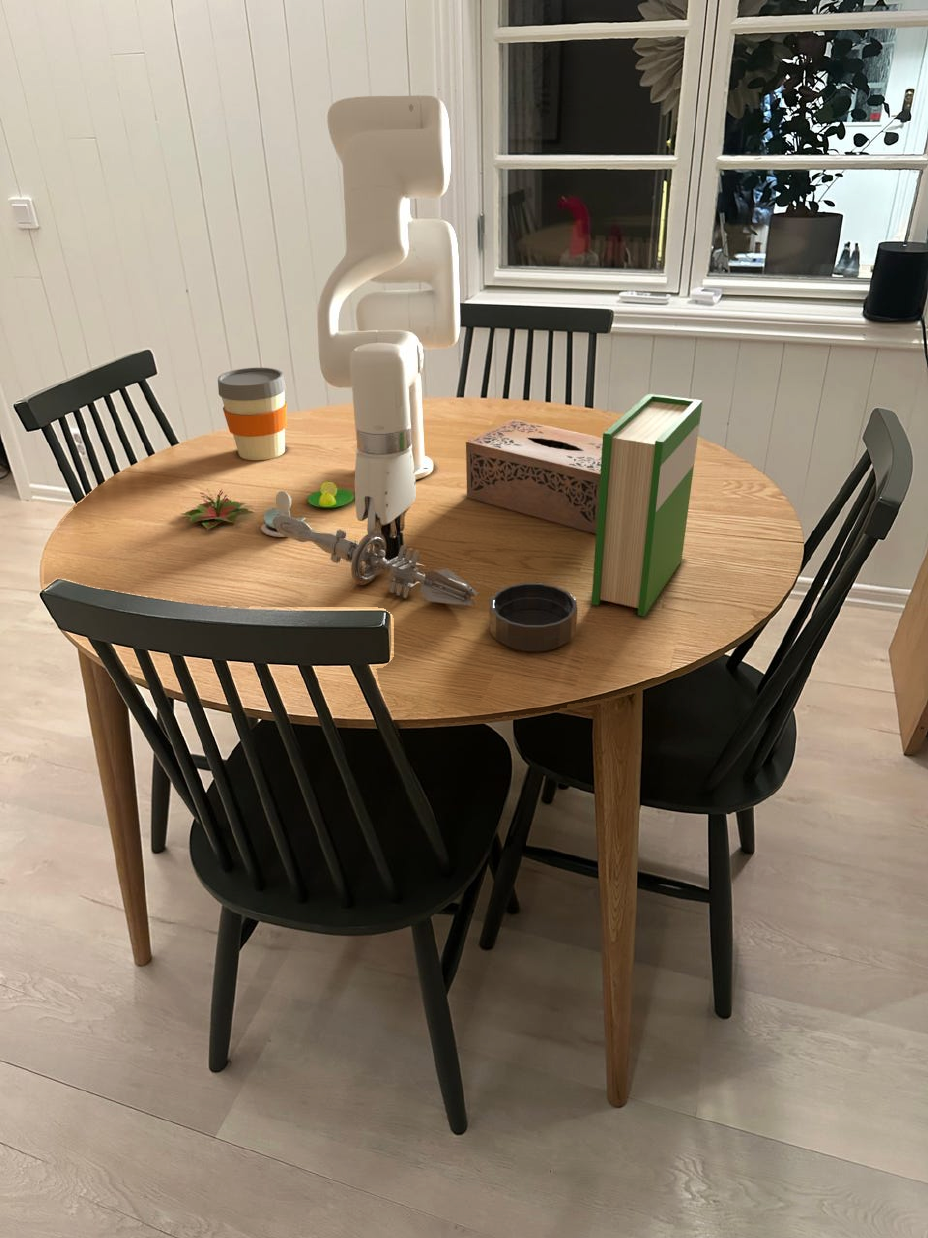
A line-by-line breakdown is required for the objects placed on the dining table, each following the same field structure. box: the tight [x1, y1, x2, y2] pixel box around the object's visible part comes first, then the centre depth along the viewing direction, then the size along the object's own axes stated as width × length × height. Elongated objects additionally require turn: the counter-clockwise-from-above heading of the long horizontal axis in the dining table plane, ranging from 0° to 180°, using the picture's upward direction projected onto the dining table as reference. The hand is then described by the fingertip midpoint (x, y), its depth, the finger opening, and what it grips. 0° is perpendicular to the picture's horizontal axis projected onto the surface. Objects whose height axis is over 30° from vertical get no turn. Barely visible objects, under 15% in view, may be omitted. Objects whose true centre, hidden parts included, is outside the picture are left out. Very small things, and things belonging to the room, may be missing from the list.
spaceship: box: [272, 515, 479, 606], centre depth 119 cm, size 8×35×8 cm
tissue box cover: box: [465, 418, 603, 535], centre depth 142 cm, size 26×14×10 cm, turn 53°
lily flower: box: [181, 488, 256, 531], centre depth 140 cm, size 12×12×5 cm
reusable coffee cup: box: [217, 367, 288, 461], centre depth 163 cm, size 13×13×15 cm
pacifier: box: [260, 490, 306, 538], centre depth 135 cm, size 7×6×6 cm
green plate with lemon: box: [307, 481, 355, 509], centre depth 145 cm, size 8×8×3 cm
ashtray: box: [489, 582, 578, 653], centre depth 108 cm, size 11×11×4 cm
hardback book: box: [591, 393, 703, 617], centre depth 113 cm, size 18×7×24 cm, turn 152°
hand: (392, 556), depth 125 cm, fingers closed
